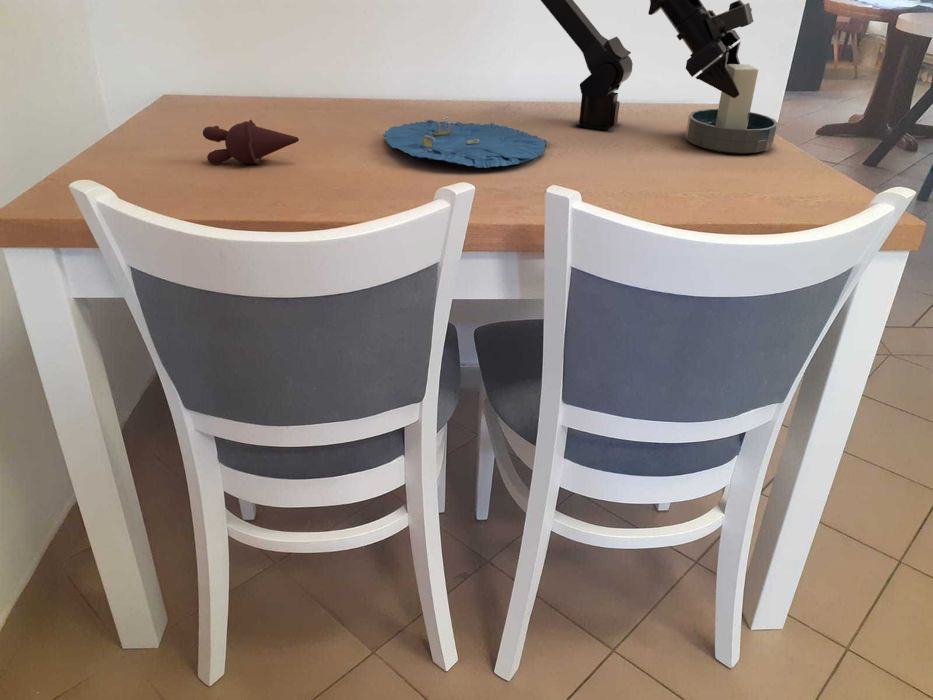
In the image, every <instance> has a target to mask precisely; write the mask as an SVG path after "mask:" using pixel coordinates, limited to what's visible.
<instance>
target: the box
mask: <svg viewBox="0 0 933 700" xmlns="http://www.w3.org/2000/svg"><path fill="white" fill-rule="evenodd" d="M727 67H728V70H729V72H730V74H731V76H732V78H733V80H734V82H735V84H736V87H737V89H738V91H739V95H738V96H737V97H736V98H733V97H731V96H729V95H727V94H725V93H724V92H722V91H720V98H719V102H718V108H717V109H718V114H717V120H716V125H715V126H718V127H724V128H731V129H747V125H748V120H749V114H750V112H751V109H752V105H753V104H752V103H753V100H754V94H755V89H756V84H757V80H758V73H759V69H758V68H756V67H755V66H753V65H750V64H741V63H740V64H727Z"/></svg>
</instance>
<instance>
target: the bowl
mask: <svg viewBox="0 0 933 700" xmlns="http://www.w3.org/2000/svg"><path fill="white" fill-rule="evenodd" d="M717 114H718V108H707V109H697V110H695V111H692V112H690V113H689V114H688V118H687V124H686V129H685V134H684V137H685V139H686V141H688V142H690V144H692V145H695V146H697V147H699V148H702V149H705V150H708V151H712V152H717V153H723V154H724V153H725V154H734V155H744V154H745V155H746V154H747V155H748V154H756V153H760V152H766V151H768V150H771V149H772V147H773V145H774V142H775V138H776V134H777V129H778V127H779V126H778V125H779V123H778V121H777V120H776V119H775V118H773V117H770V116H768V115H764V114H761V113H757V112H753V111H750V114H749V120H748V125H747V129H731V128H724V127H718V126H715V125H716V120H717Z"/></svg>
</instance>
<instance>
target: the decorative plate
mask: <svg viewBox="0 0 933 700" xmlns="http://www.w3.org/2000/svg"><path fill="white" fill-rule="evenodd" d="M449 119H450V117H449V116H446V117H444V119H443V121H439V120H434V119H428V120H425V119H424V121H416V122H411V123H404V124H402V125H397V126H392V127H390V128H389V129H388V130H385V131H384V133H383V134H382V138H383V139H384V138H385V141H386V142H387V144H388V145H389V146H390V147H391V148H393V149H399V150H400V151H402V152H403V153H406V154H409V155H410V156H412V157H417V158H421V159H423V158H427V159H428V161H433V160H436V161H445V162H446V163H455V164H458V165H465V166H467V167H475V168H478V169H483V168H485V169H487V168H488V169H489V168H491V167H501V166H502V167H507V166H508V167H509V166H511V165H515V166H517V165H519V164H524V163H525V162H529V161H531V160H535V159H536V158H538V157H540V155H543V154H544V153H545V152H546V147H545V146H546V145H547V143H548V141H547V140H546V139H543V138H541V137H538V136H537V135H532V134H529V132H527V131H526V132H524V131H523V130H520V129H514V128H513V127H509V126H507V125H499V124H495V123H494V122H490V123H484V124H481V123H473V122H469V123H463V122H458V121H457V122H455V123H453V122H450V120H449Z"/></svg>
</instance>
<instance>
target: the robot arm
mask: <svg viewBox="0 0 933 700" xmlns="http://www.w3.org/2000/svg"><path fill="white" fill-rule="evenodd" d="M540 2H541V3H542V4H543V5H544V7H545V8H546V9H547V10H548V12H549V13H550V14H551V16H553V18H554V20H556V21H557V23H558V24H559V25H560V27H562V29H563V31H565V33H566V34H567V35H568V36H569V38H570V39H571V40H572V41H573V42H574V44H575V45H576V46H577V47H578V49H579V50H580V52H581V53H582V55H583V58H584V61H585V64H586V67H587V70H588V71H589V73H590V74H589V75H588V76H587V77H586V78H585V79H584V80H582V81H581V82H580V83H579V90H580V93H581V101H580V110H579V111H580V112H579V119H578V120H579V121H578V122H576V123H575V126H576V127H579V128H587V129H593V130H601V131H610V130H611V129H612V128H613V127H615V126H616V125H617V124H618V121H619V120H618V119H619V112H620V111H619V110H620V105H621V103H620V101H618V97H619V92H616V91H618V90H619V89H620V87H621V85H622V83H624V82H625V81H627V80H628V79H629V78H630V76H631V74H632V73H633V72H632V71H633V65H634V64H633V60H632V58H631V57H630V55H631V53H632V52H631V51H629V50H628V49H627V48H626V47H624V45H623V43H622V42H621V40H620V38H619V37H618V36H614V37H612V38H610V39H607V38H606V37H605V36H603V35H602V34H601V33H600V32H599V30H598V29H597V28H596V27H595V25H594V24H593V23H592V22H591V21H590V19H589V18H588V17H587V15H586V14H585V13H584V12H583V11H582V9H581V8H580V7H579V5H578V4H577V3H576V2H575V0H540ZM660 10H661V11H662V12H663V14H664V16H665V18H667V20H668V21H669V23H670V24H671V25H672V27H673V28H674V30H675V31H676V33H677V34H676V37H677V40H678V41H683V43H684V44H685V45H686V46H687V48H688V49H689V51H690V52H691V54H690V55H689V56H690V57H689V58H688V59H687V60H686V64H685V70H686V71H687V73H688V74H689V75H690V77H691V78H693V77H694V76H695V75H696V76H695V79H696V80H699V81H701V82H703V83H705V84H707V85H709V86H710V87H713V88H715V90H716V89H717V90H718V91H720V92H724V93H725V94H727V95H729V96H731V97H733V98H736V97H737V96H738V95H739V91H738V89H737V87H736V84H735V82H734V80H733V78H732V76H731V74H730V72H729V70H728V67H727V64H741V62H740V59H739V56H738V54H739V50H740V46H741V41H740V40H741V37H740V36H739V34H738V33H737V32H736V30H735V29H737V28H743V27H747V26H749V25H751V24H752V23H754V18H753V14H752V11H753V9H752V7H751V4H750V3H749V2H747V3H743V1H742V0H736V1H733V2H731V3H730V4H729V6H728V10H725V11H724V12H722V13H718V14H716V13H715V12H714V11H713V10H710V9H708V10H707V8H706V7H705V6H704V3H702V1H701V0H649V8H648V13H647V14H648V15H650V16H653V15H655V14H657V13H658V12H659V11H660ZM734 44H735V45H734ZM698 73H699V74H698ZM697 74H698V75H697Z"/></svg>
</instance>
